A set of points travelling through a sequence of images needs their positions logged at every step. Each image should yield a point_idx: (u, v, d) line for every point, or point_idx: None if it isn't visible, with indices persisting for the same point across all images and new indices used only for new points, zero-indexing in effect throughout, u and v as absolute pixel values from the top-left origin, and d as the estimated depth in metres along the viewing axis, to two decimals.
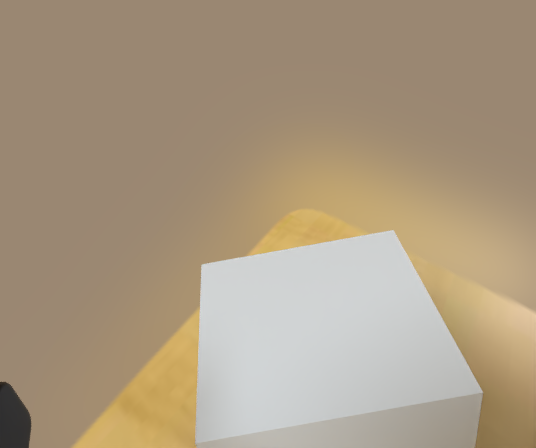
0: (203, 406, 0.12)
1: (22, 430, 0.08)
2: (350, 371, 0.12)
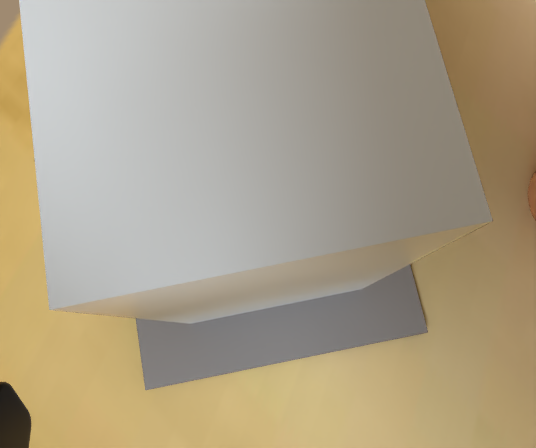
0: (54, 244, 0.07)
1: (22, 430, 0.08)
2: (293, 181, 0.08)
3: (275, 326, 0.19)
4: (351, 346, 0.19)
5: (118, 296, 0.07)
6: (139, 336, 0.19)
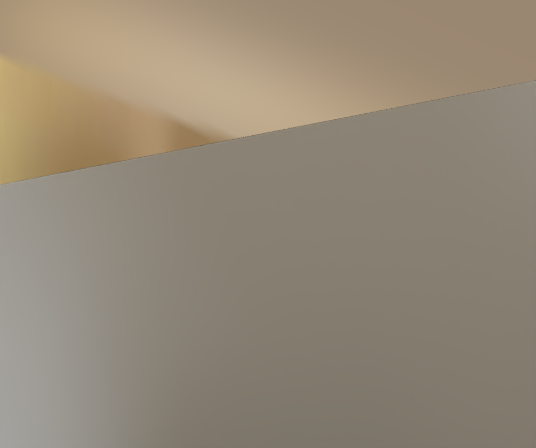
0: None
1: None
2: None
3: None
4: None
5: None
6: None
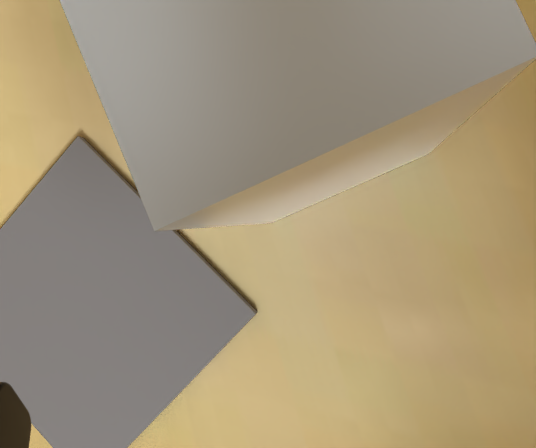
0: (142, 176, 0.09)
1: (22, 430, 0.08)
2: (336, 66, 0.08)
3: (144, 383, 0.21)
4: (206, 363, 0.20)
5: (206, 207, 0.08)
6: None
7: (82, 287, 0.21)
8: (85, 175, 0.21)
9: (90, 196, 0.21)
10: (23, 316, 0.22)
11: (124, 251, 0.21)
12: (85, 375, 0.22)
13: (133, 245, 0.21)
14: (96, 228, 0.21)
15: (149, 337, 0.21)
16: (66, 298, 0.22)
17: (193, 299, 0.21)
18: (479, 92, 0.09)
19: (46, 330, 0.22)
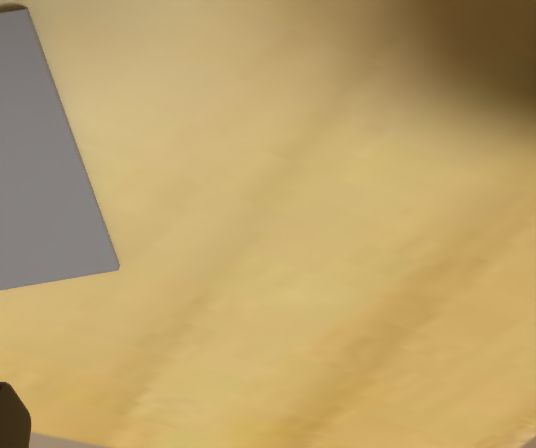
0: None
1: (22, 430, 0.08)
2: None
3: (45, 170, 0.19)
4: (54, 98, 0.18)
5: None
6: (73, 276, 0.22)
7: None
8: None
9: None
10: None
11: None
12: (8, 217, 0.20)
13: None
14: None
15: None
16: None
17: None
18: None
19: None
